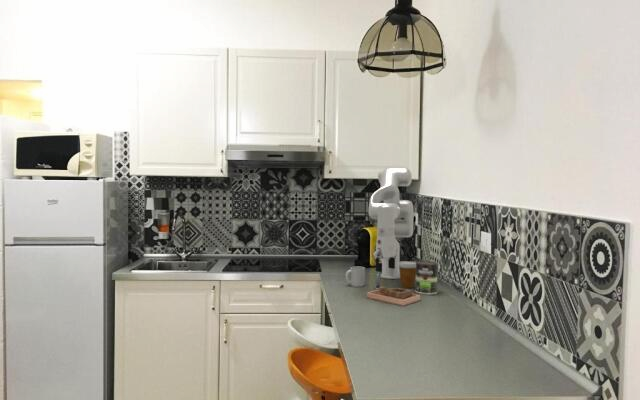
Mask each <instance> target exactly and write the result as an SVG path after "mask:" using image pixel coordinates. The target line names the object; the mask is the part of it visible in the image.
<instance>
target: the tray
mask: <svg viewBox="0 0 640 400" xmlns="http://www.w3.org/2000/svg"><path fill="white" fill-rule="evenodd" d="M366 299H369V300H373V301H374V300H375V301H378V302H382V303H388V304H392V305H396V306H401V307H405V306H408V305H411V304H414V303H417V302H419V301H421V294H419V293H417V294H416V293H413V292H412V297H410V298H407V299H404V300H402V299H397V298H392V297H388V296H383V295H379V289H378V290H376V289H374V290H372V291H368V292H366Z"/></svg>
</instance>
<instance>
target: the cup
mask: <svg viewBox="0 0 640 400" xmlns="http://www.w3.org/2000/svg"><path fill="white" fill-rule="evenodd" d="M349 276H350V278H349ZM365 279H366V267H364V266H357V265H356V266H350V269H348V270H347V271H346V273H345V282H346V283H348V284H350V286H351V287H355V288H357V287H358V288H361V287H364V286H365V285H366V280H365Z"/></svg>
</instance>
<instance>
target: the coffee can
mask: <svg viewBox="0 0 640 400" xmlns="http://www.w3.org/2000/svg"><path fill="white" fill-rule="evenodd" d="M415 262H416V275H415V284H414V287H415V289H414V291H415V294H416V293H417V294H418V295H428V296H429V295H437V294H438V274H439V273H438V268H439V267H438V266H439V263H438V262H436V261H431V260H417V261H415Z"/></svg>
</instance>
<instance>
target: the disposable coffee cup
mask: <svg viewBox="0 0 640 400" xmlns="http://www.w3.org/2000/svg"><path fill="white" fill-rule="evenodd" d="M416 262H417V261H412V260H411V261H408V260H407V261H406V260H404V261H402V260H401V261H399V264H398V266H399V270H400V278H399V280H400V285H401V286H400V287H401V288H404V289H407V288H408V289H411V288H414V287H415V283H416Z"/></svg>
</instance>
